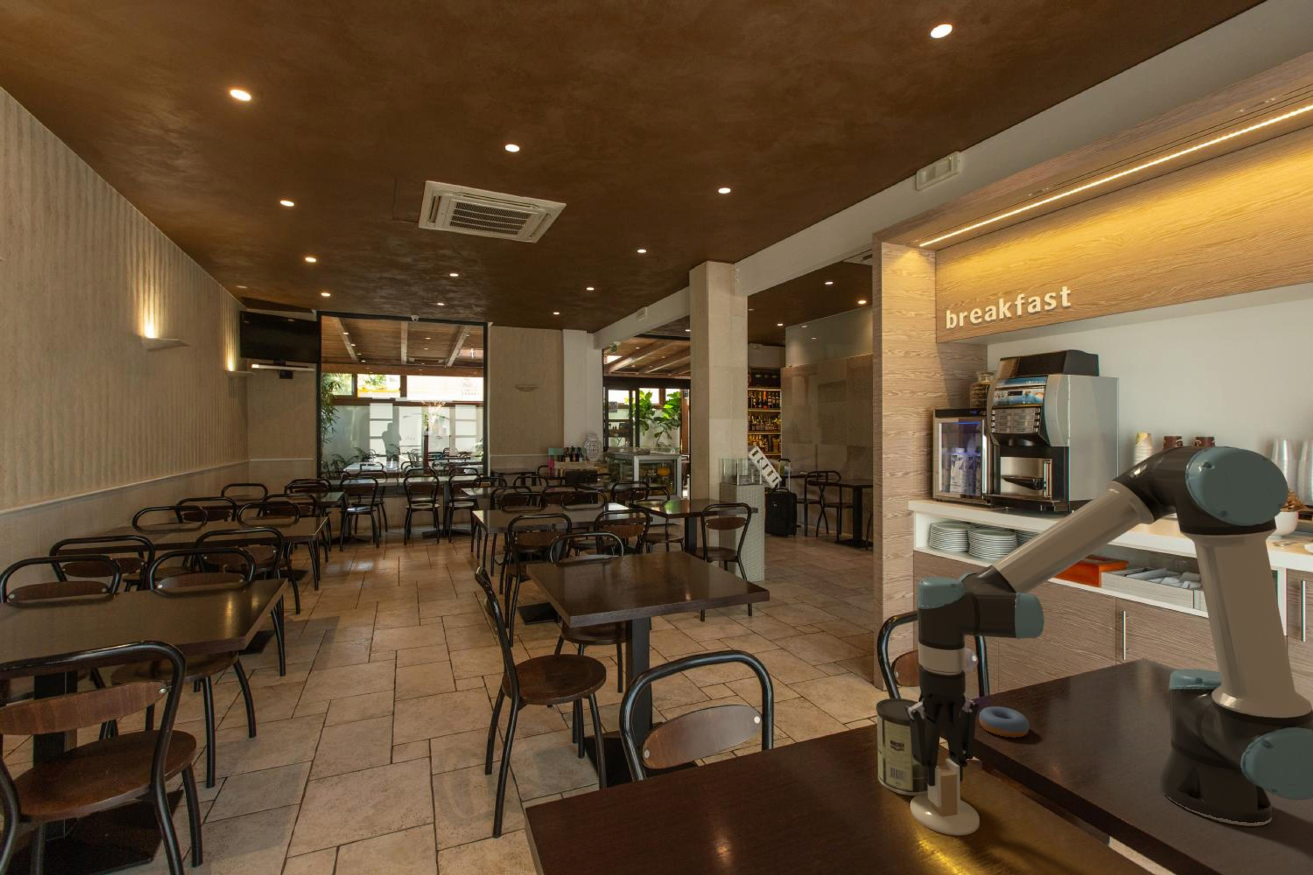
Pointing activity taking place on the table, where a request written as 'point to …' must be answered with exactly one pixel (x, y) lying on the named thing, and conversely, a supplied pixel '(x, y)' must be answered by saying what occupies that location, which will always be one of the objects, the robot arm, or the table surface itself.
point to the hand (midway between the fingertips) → (943, 800)
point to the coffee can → (898, 749)
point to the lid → (945, 809)
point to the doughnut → (1004, 722)
